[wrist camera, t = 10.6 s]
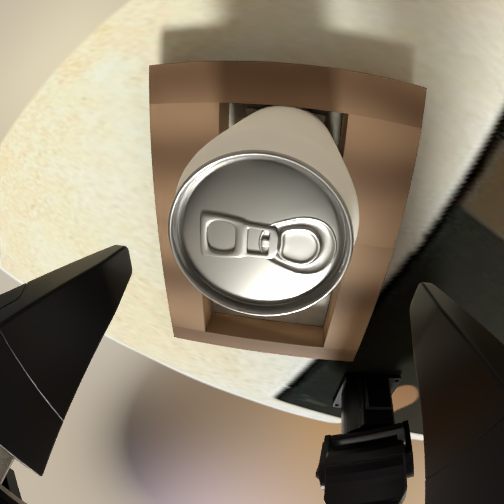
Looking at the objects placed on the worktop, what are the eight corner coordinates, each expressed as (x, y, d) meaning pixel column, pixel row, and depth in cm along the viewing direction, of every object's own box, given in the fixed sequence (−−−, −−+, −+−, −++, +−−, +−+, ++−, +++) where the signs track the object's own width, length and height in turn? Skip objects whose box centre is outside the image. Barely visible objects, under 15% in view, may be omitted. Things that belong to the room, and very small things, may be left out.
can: (326, 204, 21) (341, 336, 10) (232, 193, 21) (165, 309, 11) (340, 110, 17) (390, 153, 7) (236, 99, 18) (147, 129, 8)
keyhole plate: (350, 341, 27) (352, 361, 25) (182, 318, 29) (174, 336, 27) (412, 86, 15) (426, 88, 13) (166, 66, 17) (149, 65, 15)
